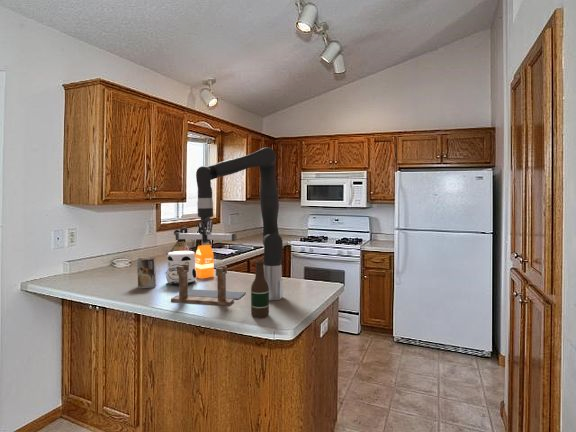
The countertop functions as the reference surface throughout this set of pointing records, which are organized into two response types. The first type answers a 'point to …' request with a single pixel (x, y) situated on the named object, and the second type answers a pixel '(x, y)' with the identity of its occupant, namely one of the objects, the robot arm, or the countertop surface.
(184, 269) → the walnut rack
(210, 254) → the orange juice
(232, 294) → the grey long flat board
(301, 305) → the countertop surface
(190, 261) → the milk container
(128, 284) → the countertop surface
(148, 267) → the coffee box
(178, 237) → the steel rail
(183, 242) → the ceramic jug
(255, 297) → the beer bottle
